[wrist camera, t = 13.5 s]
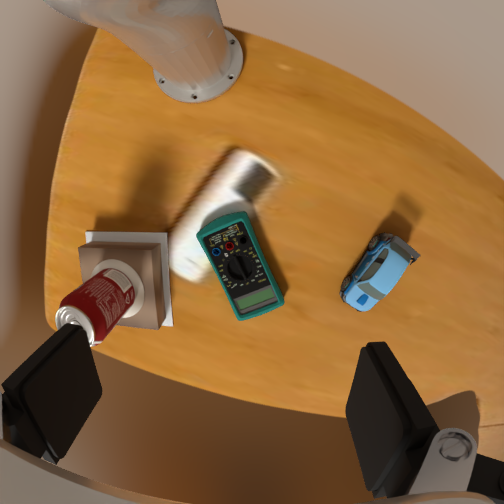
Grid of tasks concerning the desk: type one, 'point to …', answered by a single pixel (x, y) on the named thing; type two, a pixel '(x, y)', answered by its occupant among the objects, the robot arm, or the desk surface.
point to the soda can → (98, 304)
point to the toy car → (377, 271)
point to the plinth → (131, 277)
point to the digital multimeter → (240, 265)
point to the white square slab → (145, 238)
